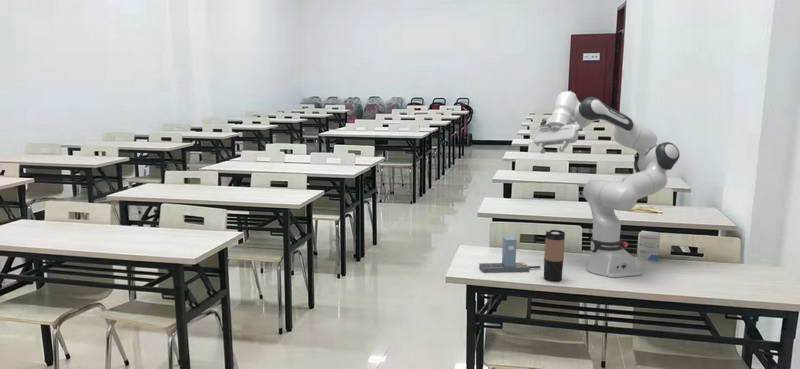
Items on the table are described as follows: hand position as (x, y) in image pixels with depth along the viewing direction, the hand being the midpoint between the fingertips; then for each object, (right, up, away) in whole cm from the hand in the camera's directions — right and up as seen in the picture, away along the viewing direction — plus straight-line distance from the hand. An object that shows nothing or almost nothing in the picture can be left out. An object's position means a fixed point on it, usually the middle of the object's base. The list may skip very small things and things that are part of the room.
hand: (551, 152), depth 251 cm
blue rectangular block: (-18, -51, +4) cm, 54 cm away
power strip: (-17, -51, +4) cm, 53 cm away
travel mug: (-2, -53, -8) cm, 54 cm away
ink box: (+51, -48, +24) cm, 75 cm away
